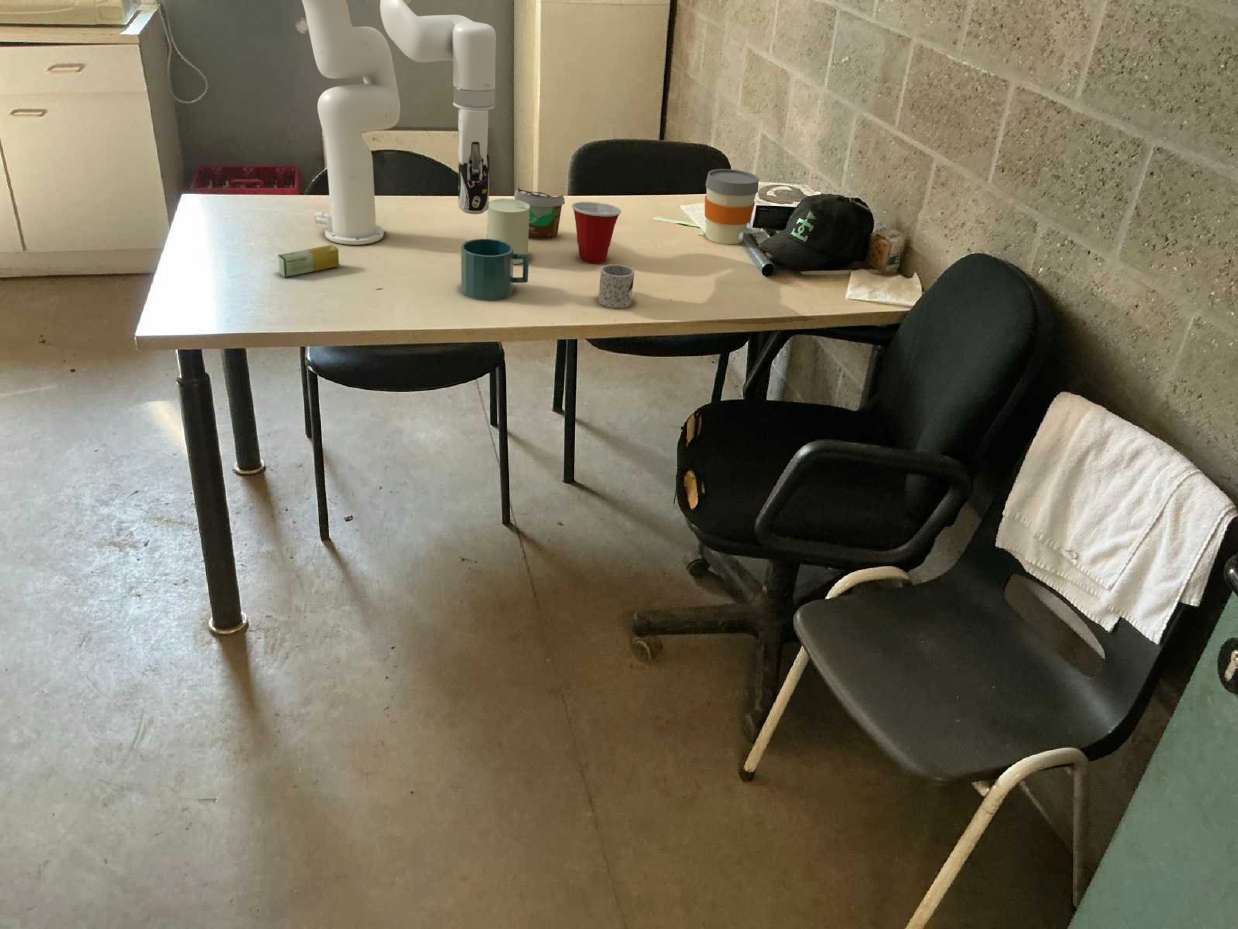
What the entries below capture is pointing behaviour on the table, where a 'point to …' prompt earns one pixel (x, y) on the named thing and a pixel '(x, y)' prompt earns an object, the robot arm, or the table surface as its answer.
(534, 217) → the food container
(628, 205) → the table surface
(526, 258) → the mug
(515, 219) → the can
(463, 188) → the beverage can
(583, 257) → the plastic cup
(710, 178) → the reusable coffee cup
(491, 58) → the robot arm
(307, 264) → the medication box
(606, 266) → the mug
